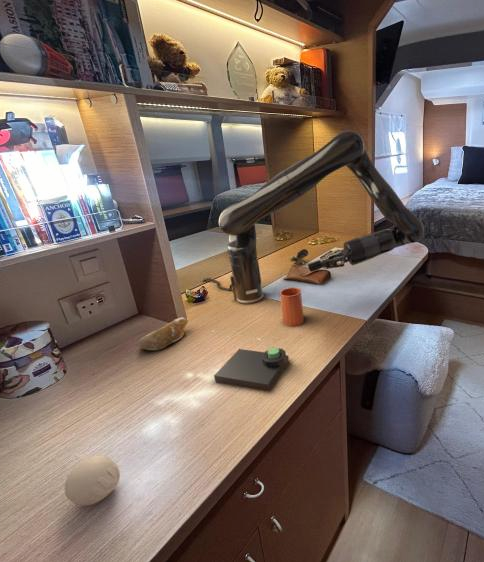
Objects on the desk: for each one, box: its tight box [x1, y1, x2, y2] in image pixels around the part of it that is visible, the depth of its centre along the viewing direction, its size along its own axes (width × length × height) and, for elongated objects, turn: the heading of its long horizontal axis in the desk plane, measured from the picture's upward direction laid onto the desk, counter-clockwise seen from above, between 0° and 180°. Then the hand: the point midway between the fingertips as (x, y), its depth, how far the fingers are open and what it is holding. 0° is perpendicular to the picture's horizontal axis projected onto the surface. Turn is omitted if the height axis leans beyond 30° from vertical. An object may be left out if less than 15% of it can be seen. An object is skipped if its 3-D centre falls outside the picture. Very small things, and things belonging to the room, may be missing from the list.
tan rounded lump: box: [64, 455, 121, 507], centre depth 54 cm, size 7×7×7 cm
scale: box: [213, 347, 290, 392], centre depth 82 cm, size 14×11×4 cm
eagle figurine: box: [289, 248, 309, 267], centre depth 150 cm, size 8×7×9 cm
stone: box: [135, 316, 189, 351], centre depth 96 cm, size 7×6×15 cm
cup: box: [279, 287, 305, 327], centre depth 103 cm, size 6×6×10 cm
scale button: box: [267, 347, 280, 359], centre depth 83 cm, size 3×3×2 cm
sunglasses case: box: [283, 264, 332, 285], centre depth 135 cm, size 18×7×7 cm, turn 66°
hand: (309, 268), depth 100 cm, fingers closed
